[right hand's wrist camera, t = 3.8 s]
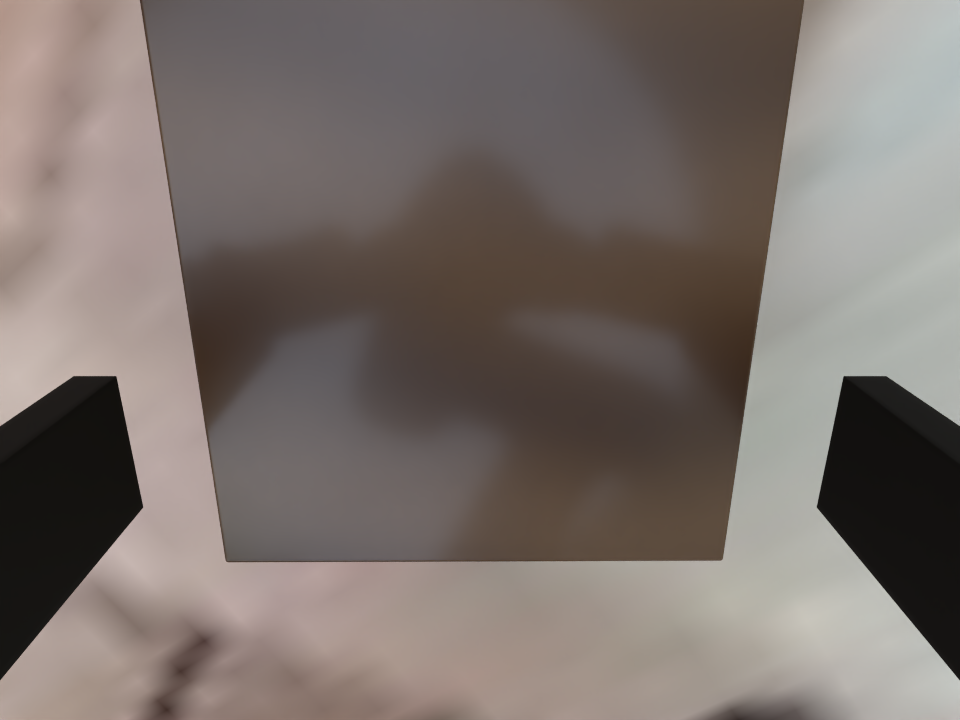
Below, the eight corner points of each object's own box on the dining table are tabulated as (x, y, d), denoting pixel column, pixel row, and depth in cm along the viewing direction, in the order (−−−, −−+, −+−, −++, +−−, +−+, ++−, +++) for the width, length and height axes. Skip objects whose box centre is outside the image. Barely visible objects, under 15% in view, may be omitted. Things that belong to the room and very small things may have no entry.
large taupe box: (272, -339, 19) (-10, -959, 8) (674, -337, 19) (945, -952, 8) (330, 373, 26) (224, 563, 15) (620, 373, 26) (723, 561, 15)
